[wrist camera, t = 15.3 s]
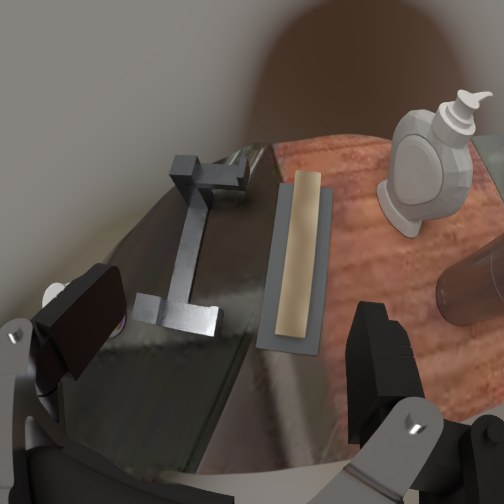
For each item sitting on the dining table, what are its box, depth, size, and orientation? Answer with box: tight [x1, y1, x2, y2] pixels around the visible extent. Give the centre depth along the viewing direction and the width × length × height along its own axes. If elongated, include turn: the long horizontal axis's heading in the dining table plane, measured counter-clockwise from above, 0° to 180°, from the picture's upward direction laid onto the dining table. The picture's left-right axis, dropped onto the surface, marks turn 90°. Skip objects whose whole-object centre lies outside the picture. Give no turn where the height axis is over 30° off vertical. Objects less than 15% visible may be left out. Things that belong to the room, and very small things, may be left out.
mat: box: [256, 183, 333, 356], centre depth 41 cm, size 8×24×1 cm, turn 171°
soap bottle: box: [376, 90, 493, 238], centre depth 31 cm, size 13×8×24 cm, turn 25°
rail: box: [275, 170, 321, 339], centre depth 39 cm, size 4×22×4 cm, turn 171°
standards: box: [132, 155, 250, 338], centre depth 38 cm, size 10×21×10 cm, turn 171°
